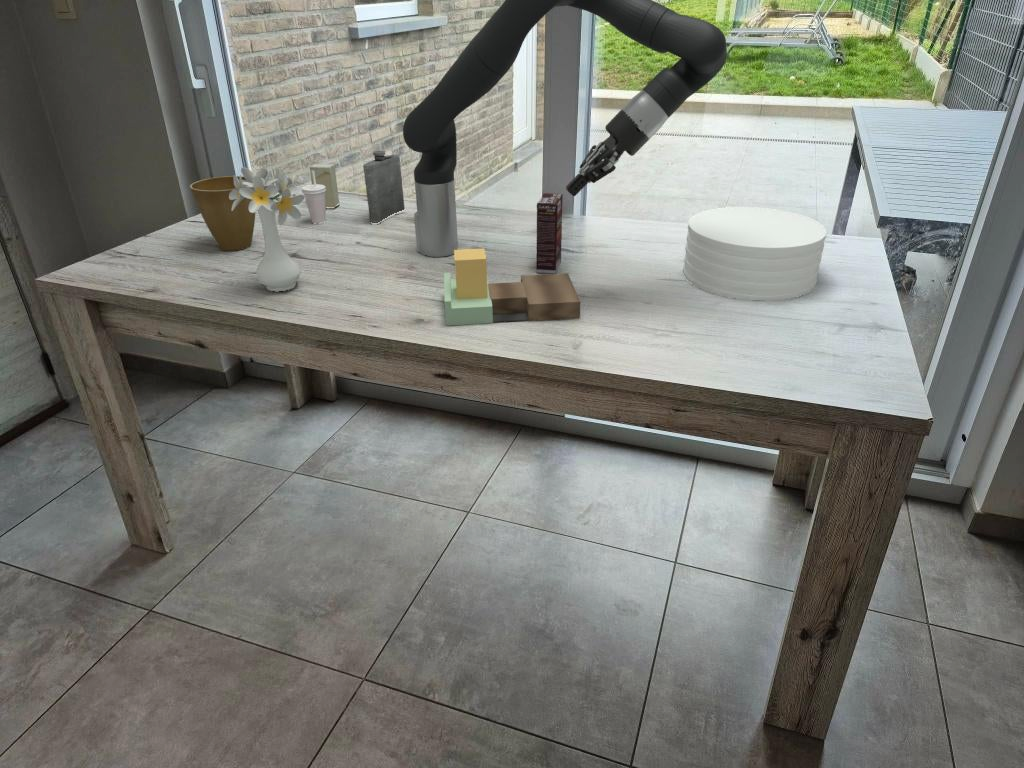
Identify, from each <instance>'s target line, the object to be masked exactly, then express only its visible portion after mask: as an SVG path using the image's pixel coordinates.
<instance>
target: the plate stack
mask: <svg viewBox="0 0 1024 768" xmlns="http://www.w3.org/2000/svg"><path fill="white" fill-rule="evenodd" d="M687 222H688V224H687V230H688V231H687V232H686V242H685V254H684V259H683V266H682V267H683V268H682V275H683V274H684V275H683V276H685V277H686V278H685V277H684V278H685V279H687V280H688V281H687V280H686V281H687V282H689V283H690V282H691V283H692V284H691V283H690V284H691V285H692V286H694V285H695V286H694V287H696V286H697V287H696V288H698V287H699V288H698V289H700V288H701V289H700V290H702V289H703V290H702V291H704V290H705V291H704V292H707V291H708V292H709V293H710V294H713V295H716V294H717V295H718V296H720V295H721V296H720V297H724V296H725V297H724V298H729V297H731V298H730V299H734V298H736V300H741V299H743V301H752V300H761V301H760V302H763V301H762V300H768V301H767V302H770V301H769V300H778V301H783V300H782V299H787V300H790V299H789V298H792V299H795V298H794V297H797V296H800V295H803V294H805V295H807V294H809V293H810V292H809V291H811V290H812V289H813V288H814V289H815V287H816V284H817V281H818V279H817V278H818V274H819V270H820V265H821V261H822V255H823V252H824V248H825V241H826V237H827V234H828V233H827V229H826V227H825V226H824V225H823V224H822V223H821V222H819V221H817V220H815V219H813V218H811V217H809V216H806V215H803V214H800V213H797V212H796V213H795V212H791V211H788V210H782V209H775V208H769V207H768V208H767V207H759V206H758V207H755V206H729V207H727V206H726V207H719V208H718V207H717V208H712V209H706V210H703V211H700V212H697V213H696V214H693V215H692V216H691V217H690V218H689V219H688V221H687ZM814 289H813V290H814ZM813 290H812V291H813ZM812 291H811V292H812ZM808 292H809V293H808ZM806 293H807V294H806ZM803 296H804V295H803ZM800 297H801V296H800ZM797 298H798V297H797Z"/></svg>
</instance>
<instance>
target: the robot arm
mask: <svg viewBox="0 0 1024 768" xmlns="http://www.w3.org/2000/svg"><path fill="white" fill-rule="evenodd" d="M565 6H568V7H571V8H576V9H579V10H582V11H586V12H588V13H590V14H593V15H595V16H597V17H599V18H601V19H603V20H604V21H605V22H607V23H608V24H610V25H611V26H612V27H614V28H615V29H616V30H617V31H619V32H620V33H622V34H623V35H624V36H626V37H627V38H629V39H631V40H632V41H634V42H636V43H639V44H641V45H642V46H644V47H646V48H648V49H650V50H652V51H655V52H657V53H660V54H667V53H669V54H672V55H674V56H676V57H678V58H679V60H677V61H676V62H675V63H674V64H673V65H672V66H671V67H670V68H668V67H667V68H663V69H662V70H660V71H659V72H658V73H657V74H656V75H655V76H654V77H652V79H651V80H650V81H649V82H647V84H646V85H645V86H644V87H643V88H642V90H640V91H639V92H638V93H636V95H634V96H633V97H631V99H630V100H628V102H627V103H626V104H625V105H624V106H623V107H622V108H621V109H620V110H619V111H618V112H617V114H615V116H614V117H613V118H612V119H611V120H610V121H609V122H608V123H607V124H606V125H605V131H606V132H607V133H608V134H609V137H607V138H606V139H604V140H603V141H600V142H598V144H597V145H596V144H594V145H592V146H591V148H590V150H589V151H588V153H587V154H586V155H585V158H584V159H583V160H582V162H581V163H580V165H579V169H578V174H576V175H575V176H574V178H573V179H572V180H571V181H570V182H568V184H567V185H566V187H565V189H566V191H567V192H568V194H570V195H571V196H572V197H576V196H577V195H578V194H579V193H580V192H581V191H582V189H584V188H585V187H586V186H587V185H588V184H591V183H593V184H595V183H597V182H599V180H601V179H603V178H605V177H607V176H608V175H609V174H611V173H613V172H614V171H615V170H616V166H615V165H616V164H617V163H618V162H619V159H620V158H621V156H622V155H623V154H624V152H626V153H627V154H628V155H629V156H630V157H633V156H635V155H636V154H637V152H639V150H641V149H642V148H643V146H645V144H647V143H648V142H649V141H650V139H651V138H652V137H653V136H655V134H656V133H657V132H658V131H659V130H660V129H661V128H662V127H663V125H664V124H665V123H666V121H667V120H668V119H669V118H671V116H672V115H673V114H675V112H677V110H678V109H679V108H680V107H681V106H682V105H683V104H684V103H685V102H686V100H687V99H689V98H690V97H691V96H692V95H694V94H695V93H697V92H698V91H699V90H701V89H702V88H703V87H704V86H706V85H707V84H708V83H709V82H710V81H712V80H713V79H714V78H715V77H716V76H717V75H718V74H719V72H720V71H721V70H722V69H723V68H724V65H725V64H726V61H727V59H728V58H727V57H728V53H727V52H728V50H727V39H726V35H725V34H724V33H723V31H722V30H721V29H720V28H719V27H718V26H716V25H715V24H713V23H710V22H709V21H707V20H704V19H700V18H697V17H693V16H690V15H685V14H681V13H678V12H677V11H674V9H671V8H668V7H667V6H664V5H663V4H661V3H659V2H656V1H654V0H504V1H503V2H502V4H501V5H500V6H499V7H498V8H497V10H496V11H495V12H494V13H493V14H492V15H491V17H490V18H489V19H488V20H487V21H486V22H485V24H484V25H483V27H481V29H480V30H479V31H478V32H477V34H475V35H474V37H473V38H472V39H471V40H470V41H469V43H468V44H467V45H466V47H465V48H464V49H463V50H462V52H460V55H459V56H458V57H457V58H456V60H455V61H454V63H453V64H452V65H451V66H450V67H449V69H448V70H447V71H446V72H445V74H444V75H443V77H442V78H440V79H441V80H440V81H439V82H438V84H437V85H436V86H435V88H433V90H432V91H430V93H429V94H428V95H427V96H426V97H425V98H424V99H423V100H421V102H420V103H419V104H418V105H417V106H416V107H414V108H413V109H412V110H411V111H410V112H409V113H408V114H407V116H406V118H405V120H404V122H403V126H402V137H403V141H404V143H405V145H406V146H407V147H408V148H409V149H410V150H412V151H413V152H415V153H416V152H417V153H421V155H420V159H419V161H418V163H417V165H416V166H415V167H414V170H413V178H414V190H415V201H416V202H415V203H416V210H417V211H416V212H415V213H414V214H413V219H414V231H415V240H416V241H415V242H416V251H417V253H420V252H421V253H420V254H422V255H424V256H426V255H427V257H434V258H436V257H438V258H440V257H448V256H451V255H454V250H459V241H458V240H459V239H458V237H459V236H458V223H457V222H458V221H457V220H458V219H457V205H456V204H457V203H456V188H455V186H456V185H455V170H456V168H457V167H456V166H457V160H458V157H457V156H458V155H457V154H458V153H457V151H458V150H457V148H458V147H457V129H456V128H457V127H456V122H455V119H456V118H457V117H458V116H459V115H460V114H462V112H464V111H465V110H466V109H468V108H469V107H471V106H472V105H474V104H475V103H476V102H477V101H479V100H480V99H482V97H485V95H486V94H488V93H490V92H491V90H492V89H494V87H495V86H497V84H498V83H499V82H500V81H501V79H502V78H504V76H505V75H506V74H507V73H508V72H509V71H510V69H511V68H512V66H513V64H514V63H515V62H516V60H517V57H518V56H519V53H520V51H521V48H522V46H523V44H524V41H525V39H526V38H527V36H528V35H529V33H530V31H531V30H532V29H534V27H535V26H536V25H537V24H538V23H539V22H540V21H541V20H542V18H543V17H545V16H546V15H547V14H548V13H549V12H550V11H551V10H553V9H554V8H556V7H565Z"/></svg>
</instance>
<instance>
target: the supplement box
mask: <svg viewBox="0 0 1024 768" xmlns="http://www.w3.org/2000/svg"><path fill="white" fill-rule="evenodd" d="M563 195H564V194H562V193H547V192H545V193H542V196H541V197H540V198H539V201H538V202H536V256H535V257H536V258H535V259H536V261H535V263H536V266H535V267H536V268H535V273H539V274H557V271H558V268H559V266H560V264H561V262H562V241H563V240H562V238H563V236H562V235H563V234H562V233H563V199H564V198H563Z"/></svg>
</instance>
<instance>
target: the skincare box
mask: <svg viewBox="0 0 1024 768" xmlns="http://www.w3.org/2000/svg"><path fill="white" fill-rule="evenodd" d="M312 171H314V173H315V180H316V184H320V185H324V186H325V187H326V191H325V206H326V207H335V206H336V205H337V204H338V203H339V204H340V198H339V191H338V182H337V181H338V179H337V174H336V172H337V171H336V165H335V163H333V164H331V163H313V164H312V165H310V166H309V172H310V173H309V174H310V182H311V185H314V181H313V174H312Z"/></svg>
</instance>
